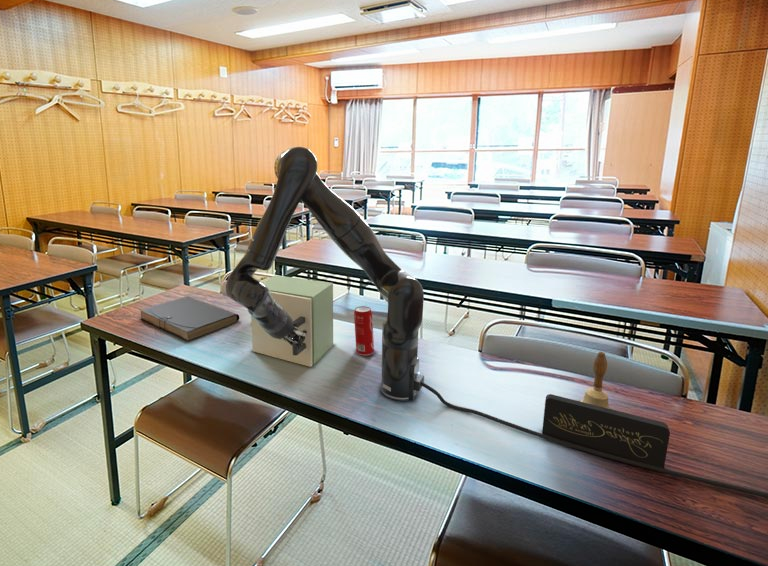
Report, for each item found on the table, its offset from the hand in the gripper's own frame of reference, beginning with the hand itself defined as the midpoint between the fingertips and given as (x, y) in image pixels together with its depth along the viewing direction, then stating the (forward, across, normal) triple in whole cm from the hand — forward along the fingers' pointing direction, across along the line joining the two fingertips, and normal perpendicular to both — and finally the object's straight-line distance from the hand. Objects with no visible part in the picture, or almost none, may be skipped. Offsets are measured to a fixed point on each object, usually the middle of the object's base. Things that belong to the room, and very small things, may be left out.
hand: (297, 343), depth 127 cm
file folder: (+17, +58, -4) cm, 60 cm away
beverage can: (+21, -13, -8) cm, 26 cm away
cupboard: (+16, +8, -3) cm, 18 cm away
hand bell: (+18, -74, -4) cm, 77 cm away
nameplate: (+6, -74, +7) cm, 74 cm away
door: (+7, +8, +5) cm, 12 cm away
